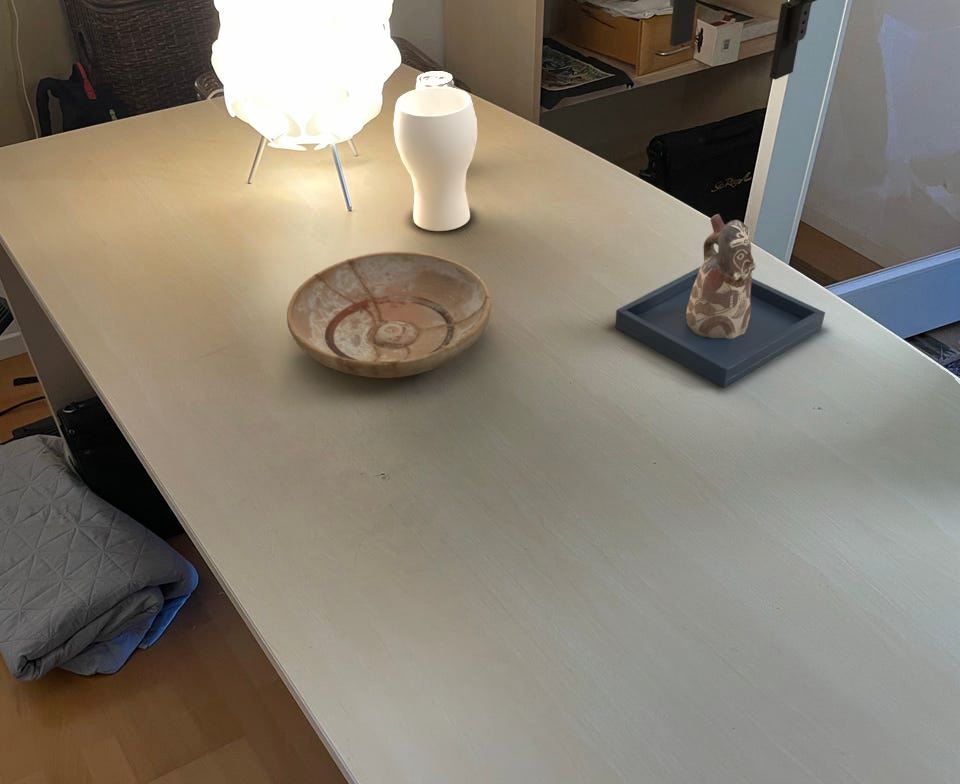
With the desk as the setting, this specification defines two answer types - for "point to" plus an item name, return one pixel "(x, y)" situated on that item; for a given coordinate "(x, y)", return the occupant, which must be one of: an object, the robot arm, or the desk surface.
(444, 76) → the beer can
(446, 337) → the ceramic bowl
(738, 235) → the figurine
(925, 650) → the desk surface
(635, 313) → the tray
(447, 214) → the cup
